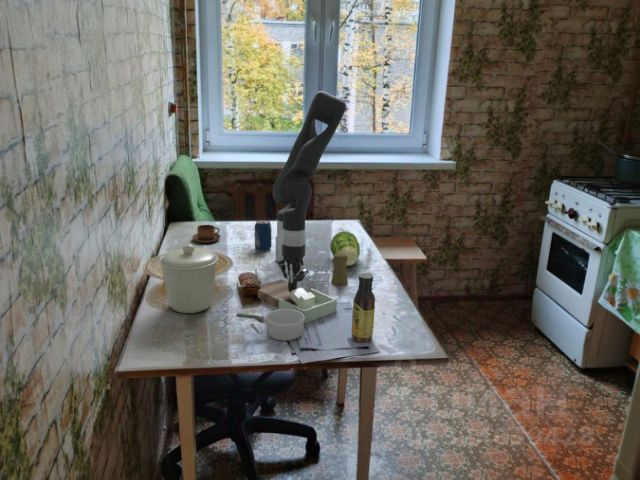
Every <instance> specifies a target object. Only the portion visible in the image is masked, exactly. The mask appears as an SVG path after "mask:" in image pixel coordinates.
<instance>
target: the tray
mask: <svg viewBox="0 0 640 480" xmlns="http://www.w3.org/2000/svg"><path fill="white" fill-rule="evenodd" d="M309 292H311V293H312V294H313V295H314V296H316V297H315V300H314V304H313V307H312V308H309V309H306V310H302V309H300V308H298V307H297V304H296V303H295V304H290V303H288V302H286V301H284V300H282V299H279V309H293V310H297V311H300V312H302V313H303V314H304V315H305V319H304V324H306V323H309V322H312V321H314V320H317V319H321V318H323V317H325V316H328V315H330V314H333V313H337V309H338V308H337V307H338V306H337V304H338V303H337V302H338V301H337V300H338V299H336V298H334V297H332V296H329V295H328V294H325V293H322V292H321V291H319V290H317V289H314V288H310V290H309Z"/></svg>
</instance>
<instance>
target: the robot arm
mask: <svg viewBox="0 0 640 480" xmlns="http://www.w3.org/2000/svg"><path fill="white" fill-rule="evenodd" d="M346 107H347V103H346V102H345V100H343V99H341V98H339V97H337V96H334V95H333V94H330V93H328V92H326V91H324V90H319V91H318V92H316V93H315V95H314V97H313V99H312V100H311V103H310V105H309V108H308V110H307V114H306V116H305V120H304V122H303V124H302V126H301V129H300V131H299V133H298V136H297V137H296V139H295V141H294V143H293V146H292V149H291V150H290V153H289V155H288V157H287V160H286V162H285V163H284V165H283V167H282V170H281V171H280V172H279V175H278V176H277V178H276V180H275V181H274V183H273V187H272V198H273V200H274V201H275V202H276V203H277V204H286V206H284V207H283V208H282V209H280V210H278V212H277V214H276V236H275V260H276V261H277V263H278V266H279V268H280V271H281V273H282V275H283V278H284V279H286V281H287V282H288V290H289V292H291V291H292V290H295V289H297V287H298V283H300V282H302V281H303V280H304V279H305V278H306V276H307V275H308V273H309V269H308V268H307V269H306V268H305V267H304V265H305V264H304V257H305V255H306V238H307V237H306V236H307V235H306V216H307V212H308V207H309V204H310V202H311V198H312V194H313V189H312V186H311V184H310V183H309V182H308V181H306V180H307V179H312V177H314V175H315V172H316V170H317V169H318V166H319V163H320V161H321V158H322V156H323V154H324V152H325V150H326V148H327V147H328V145H329V144H330V142H331V140H332V138H333V136H334V135H335V133H336V131H337V129H338V127H339V125H340V123H341V121H342V119H343V116H344V115H345V112H346V109H347V108H346ZM317 121H318V122H321V123H323V124H325V125H327V127H326V128H325V129H324V130H323V131H322V132H321V133H319V134H318V133H317V128H316V127H317V126H316V122H317Z"/></svg>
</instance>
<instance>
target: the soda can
mask: <svg viewBox="0 0 640 480" xmlns="http://www.w3.org/2000/svg"><path fill="white" fill-rule="evenodd" d="M254 248H255V249H256V251H258V252H268V251H270V250H271V248H272V224H271V221H270V220H268V219H259V220H257V221H256V222H255V224H254Z"/></svg>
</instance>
